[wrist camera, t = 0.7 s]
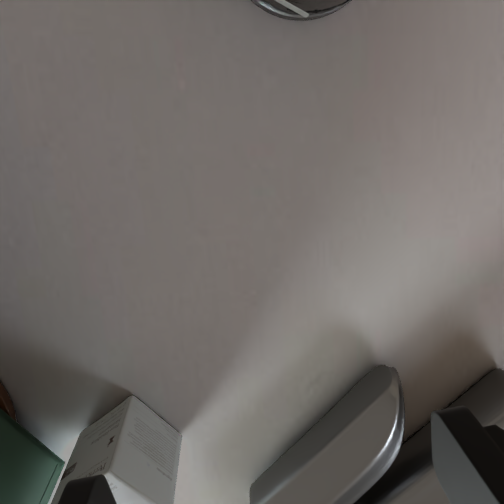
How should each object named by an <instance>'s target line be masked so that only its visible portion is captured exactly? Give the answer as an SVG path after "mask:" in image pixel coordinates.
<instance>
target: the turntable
mask: <svg viewBox="0 0 504 504" xmlns="http://www.w3.org/2000/svg"><path fill="white" fill-rule="evenodd" d="M0 408H1V409H2V410H3V411H4V412H5V413H7V414H8V415H9V416H10V417H11V418H12V419H14V420H15V421H16V414H15V410H14V407H13V404H12V401H11V399H10V397H9V395H8V393H7V391H6V390H5V388H4V387H3V385H2V384H1V382H0ZM16 422H17V421H16Z"/></svg>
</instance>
